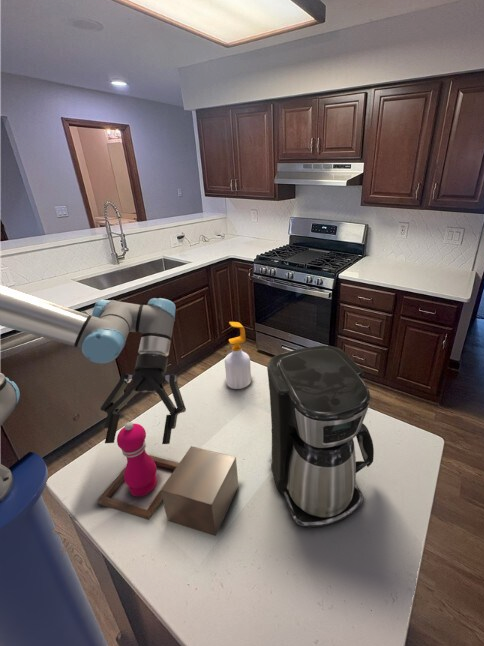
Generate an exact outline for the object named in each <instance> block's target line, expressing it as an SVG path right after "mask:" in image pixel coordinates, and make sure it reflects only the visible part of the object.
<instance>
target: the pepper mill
mask: <svg viewBox="0 0 484 646" xmlns="http://www.w3.org/2000/svg"><path fill="white" fill-rule="evenodd" d="M116 436H117V437H116V444H117V446H118V448H119V449H120V450H121V451H122V455H123V456H124V457H125V458H126V465H125V467H126V468H125V467H124V468H125V471H124V480H123V481H124V484H125V485H126V486H127V487H128V489H129V491H130V494H131V495H132V496H133V497H138V498H139V497H143V496H146V495H148V494H149V493H151V492H153V490H154V489H155V488H156V485H157V483H158V478H157V469H158V468H157V465H156V464H155V462H154V460H153V459H152V458H151V457H150V456H149V455H150V454H149V453H147V451H146V448H147V442H146V438H147V432H146V428H144V426H143V425H141V424H139V423H133V422H131V421H127V422H126V423H125V424H124V426H123V427H122V428H121V429H120V430H119V432H118V434H117V435H116Z"/></svg>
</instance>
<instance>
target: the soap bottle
mask: <svg viewBox="0 0 484 646" xmlns="http://www.w3.org/2000/svg"><path fill="white" fill-rule="evenodd" d="M228 324H229V325H230V327H232V328H236V329H239V333H240V334H239V336H235V337H232V338H229V339H228V342H229V343H230V345H231V346H232V347H231V352H229V353H228V354H227V355H226V356H225V359H224V368H225V382H226V385H227V386H228V387H229V388H231V389H233V390H234V389H235V390H241V389H244V388H246V387H248V386H249V385H251V383H252V371H251V357H250V356H249V354H248V353H247V352H245V351H243V350H242V346H241V345H240V344H242V343H243V344H244V343H245V342H246V338H247V337H246V328H245V327H244V326H243V325H242V323H240V322H238V321H228Z"/></svg>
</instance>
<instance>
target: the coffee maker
mask: <svg viewBox="0 0 484 646" xmlns="http://www.w3.org/2000/svg"><path fill="white" fill-rule="evenodd" d="M266 366H267V367H266V369H267V379H268V390H269V401H270V403H269V404H270V420H271V421H270V422H271V464H270V466H271V471H272V475H273V478H274V483H275V484H276V488H277V491H278V492H279V493H280V494H282V495H283V497H284V500H285V501H286V504H287V507H288V510H289V513H290V516H291V519H292V520H293V522H294V523H295V524H296V525H298V526H299V527H303V528H307V527H308V528H317V527H324V526H328V525H331V524H335V523H338V522H340V521H342V520H343V519H345V518H347V517H349V516H350V515H352V514H353V513H354V512H355V511H356V510H357V509H358V508H360V507H361V505H362V503H363V501H364V497H363V493H362V491H361V489H360V488H359V486H358V485H357V483H356V477H357V476H356V475H357V473H358V472H360V471H361V470H363V468H365V467H367V468H369V467H370V466H371V465H372V463H373V462H374V458H375V455H374V454H375V451H374V443H373V442H374V441H373V438H372V436H371V432H370V431H369V429H368V427H367V426H366V425H365V423H364V420H365V419H366V416H367V413H368V410H369V407H370V403H371V393H370V390H369V387H368V386H367V384H366V382H365V380H363V378H364V374H365V373H364V371H363V370H362V369H361V367H360V366H359V365H358V364H357V363H356V362H355V360H353V359H352V358H351V357H350V356H349V355H348V353H347V354H346V352H345V351H343V350H342V349H340V348H338V347H336V346H333V345H316V346H315V345H314V346H308V347H303V348H298V349H293V350H290V351H289V350H288V351H285V352H282V353H279V354H277V355H274V356H272V357H271V358H270V359H269V360H268V362H267V365H266ZM355 438H356V440H357V444H358V447H359V451H360V453H361V457H362V460H359V461H356V458H357V457H356V449H355V447H356V446H355V441H354V439H355Z"/></svg>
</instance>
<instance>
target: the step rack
mask: <svg viewBox="0 0 484 646" xmlns="http://www.w3.org/2000/svg"><path fill="white" fill-rule="evenodd" d="M148 455H149V456H150V457H151V458H152V459H153V460H154V462H155V464H156V466H158V467H163V468H165V469H170V470H173V471H172V473H171V474H170V476H169V477H168V478H167V480H166V482H165V483H164V484H163V486H162V487H161V489H160V490H159V492H158V493H157V494H156V495H155V498H154V499H153V500H152V502H151V503H150V505H148V507H147V508H143V507H140V506H137V505H133V504H130V503H127V502H124V501H121V500H117V499H114V498H111V496H112V495H113V494H114V493H115V491H116V490H117V489H118V488H119V486H120V485H121V484H122V483H123V481H124V471H125V468H126V466H125V467H124V468H123V469H122V470H121V472H119V474H118V475H117V476H116V477H115V478H114V480H113V481H111V483H110V484H109V485H108V486H107V488H106V489H105V490H104V491H103V492H102V493H101V495H99V497H98V498H97V499H96V501H97V504H98V505H100V506H104V507H107V508H110V509H112V510H115V511H119V512H122V513H125V514H129V515H131V516H134V517H138V518H140V519H144V520H148V521H150V520H151V518H152V517H153V515H154V514H155V512H156V511H157V509H158V508H159V506H160V505H161V503H162V502H163V507H164V511H165V516H166V520H167V522H170V523H174V524H177V525H180V526H183V527H186V528H189V529H192V530H195V531H198V532H201V533H205V534H207V535H211V536H214V537H216V536H217V534H218V532H219V530H220V528H221V526H222V524H223V522H224V519H225V517H226V514H227V512H228V510H229V508H230V506H231V504H232V502H233V499H234V497H235V495H236V493H237V490H238V489H239V477H238V466H237V457H236V456H232V455H229V454H225V453H220V452H216V451H212V450H209V449H203V448H201V447H196V446H190V447H189V449H188V450H187V451H186V453H185V454H184V455H183V457H182V458H181V460H180V462H177V461H174V460H169V459H165V458H161V457H159V456H158V457H157V456H154V455H150V454H148Z"/></svg>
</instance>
